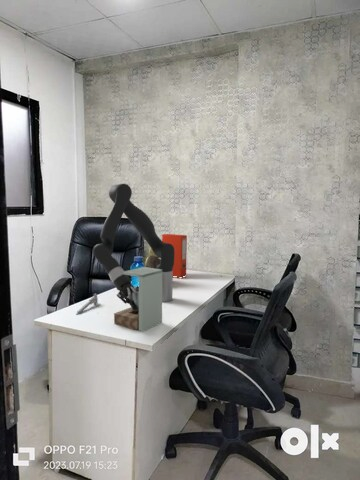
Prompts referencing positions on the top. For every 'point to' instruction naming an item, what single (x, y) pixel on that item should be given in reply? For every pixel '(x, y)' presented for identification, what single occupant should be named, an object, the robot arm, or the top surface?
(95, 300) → the caliper
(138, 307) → the steel peg
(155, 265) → the decorative clock
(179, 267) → the file binder
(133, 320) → the socket block
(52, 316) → the top surface
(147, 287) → the pale green block
